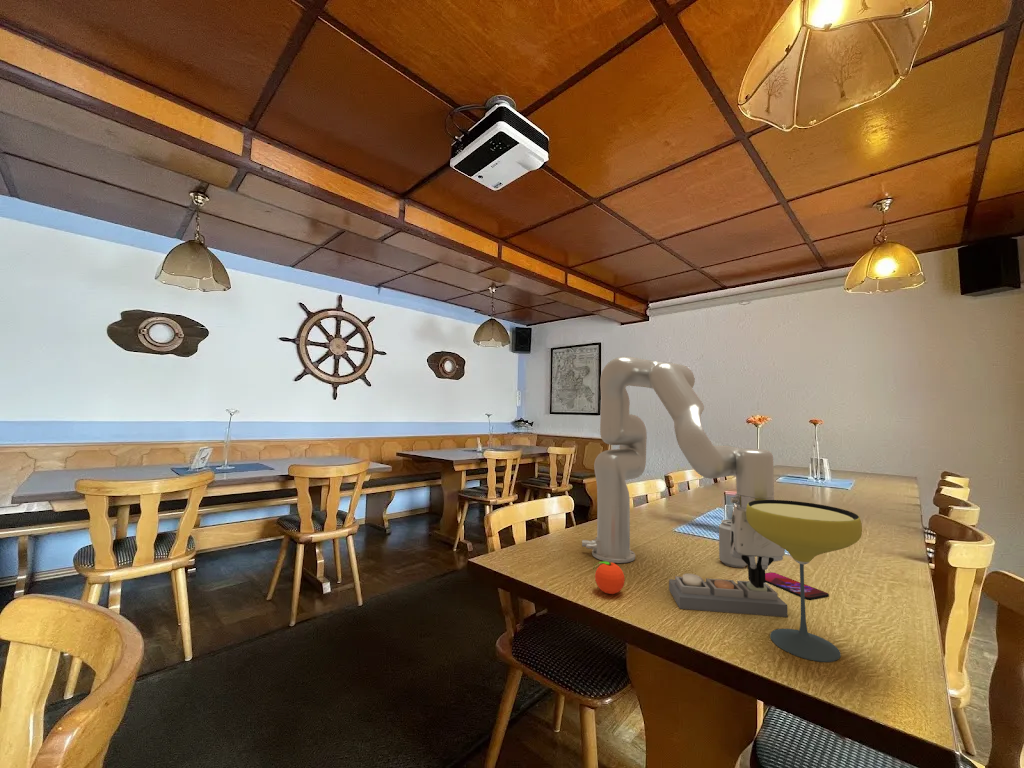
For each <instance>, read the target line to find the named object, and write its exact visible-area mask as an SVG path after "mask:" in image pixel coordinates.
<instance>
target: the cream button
mask: <svg viewBox="0 0 1024 768" xmlns="http://www.w3.org/2000/svg"><path fill="white" fill-rule="evenodd" d="M682 577H683V584H684V585H686V586H695V587H701V586H702V583H701V578H702V577H701V576H700V575H698V574H695V573H684V574H682Z"/></svg>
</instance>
